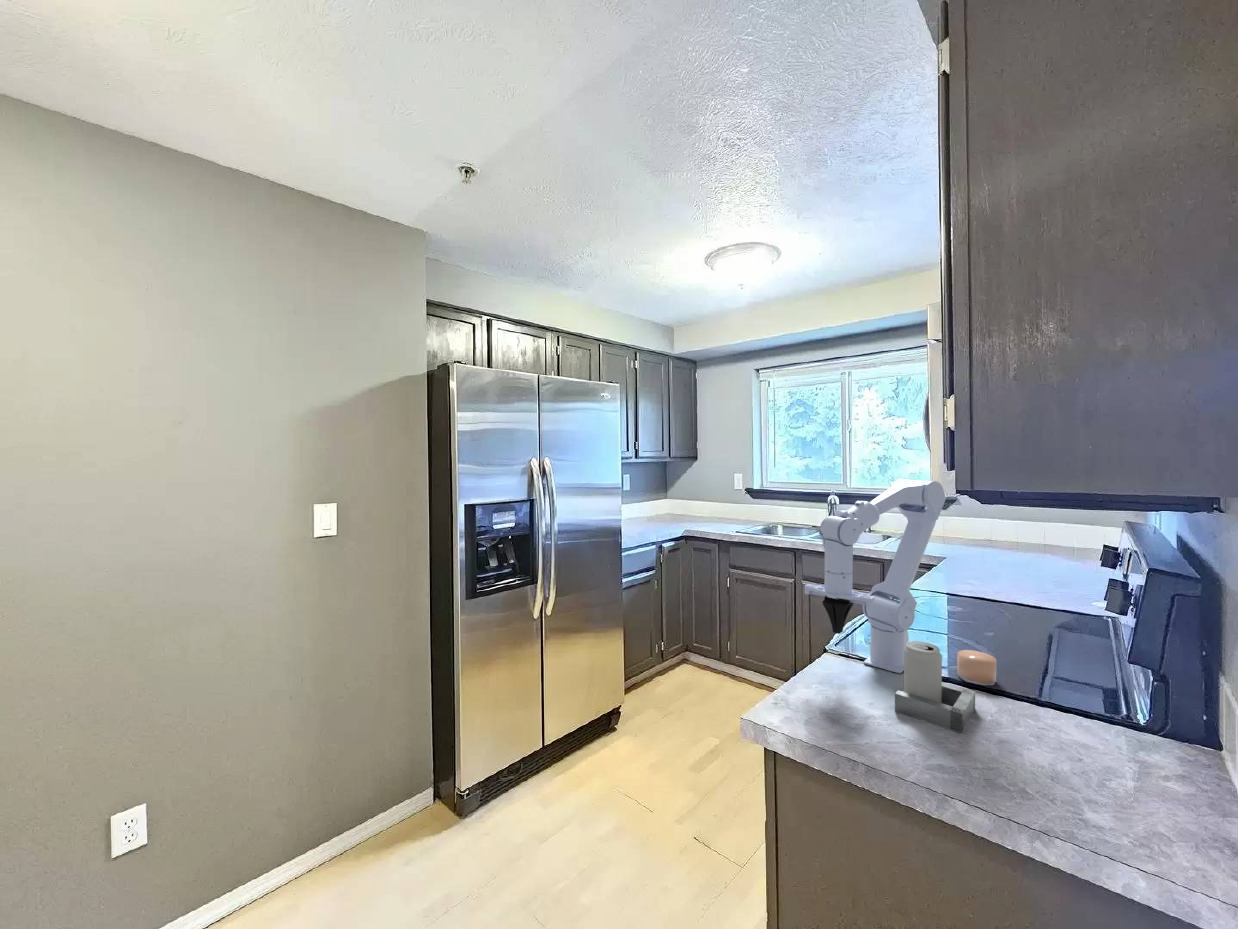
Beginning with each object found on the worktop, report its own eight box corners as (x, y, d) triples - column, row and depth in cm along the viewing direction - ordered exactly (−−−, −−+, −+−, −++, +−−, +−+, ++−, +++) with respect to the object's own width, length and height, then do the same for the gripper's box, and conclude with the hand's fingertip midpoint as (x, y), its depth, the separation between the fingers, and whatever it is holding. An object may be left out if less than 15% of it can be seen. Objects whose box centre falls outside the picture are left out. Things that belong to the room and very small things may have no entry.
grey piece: (912, 690, 108) (912, 674, 108) (975, 709, 101) (975, 691, 101) (894, 711, 100) (895, 693, 100) (961, 733, 93) (962, 714, 93)
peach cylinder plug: (961, 669, 119) (961, 647, 118) (998, 678, 114) (999, 656, 113) (953, 679, 114) (954, 656, 113) (992, 690, 109) (993, 666, 108)
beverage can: (939, 718, 98) (940, 655, 97) (901, 708, 102) (901, 647, 101) (942, 704, 103) (943, 644, 102) (906, 695, 107) (906, 637, 106)
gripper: (798, 569, 117) (798, 628, 117) (866, 580, 107) (865, 646, 107) (812, 563, 122) (811, 620, 122) (878, 574, 112) (877, 636, 112)
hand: (837, 632), depth 115 cm, fingers closed
